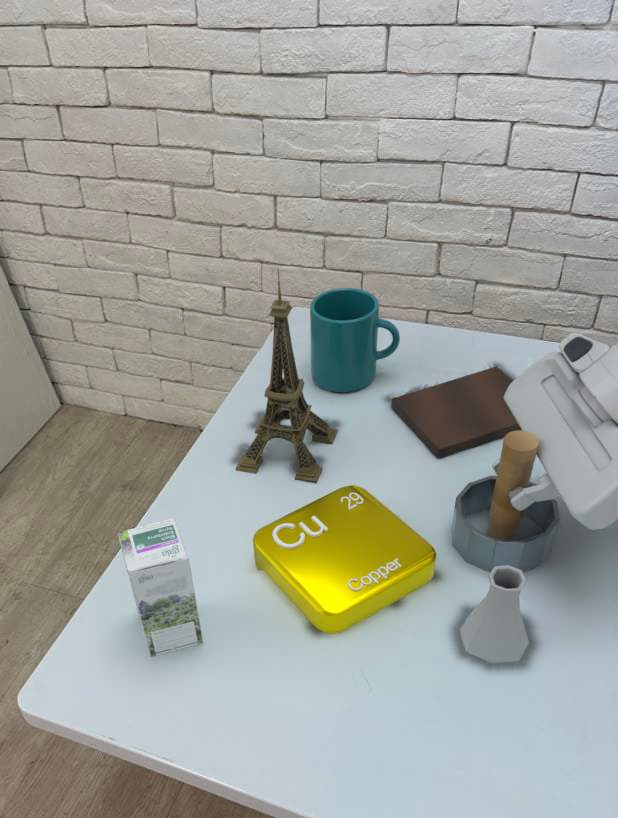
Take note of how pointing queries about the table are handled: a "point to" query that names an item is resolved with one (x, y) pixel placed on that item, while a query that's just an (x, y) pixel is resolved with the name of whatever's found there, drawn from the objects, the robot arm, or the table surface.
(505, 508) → the stick
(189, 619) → the syrup box
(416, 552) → the element tile
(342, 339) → the cup
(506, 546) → the ring
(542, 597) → the table surface
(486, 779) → the table surface
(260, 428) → the eiffel tower
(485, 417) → the board
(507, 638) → the flask
